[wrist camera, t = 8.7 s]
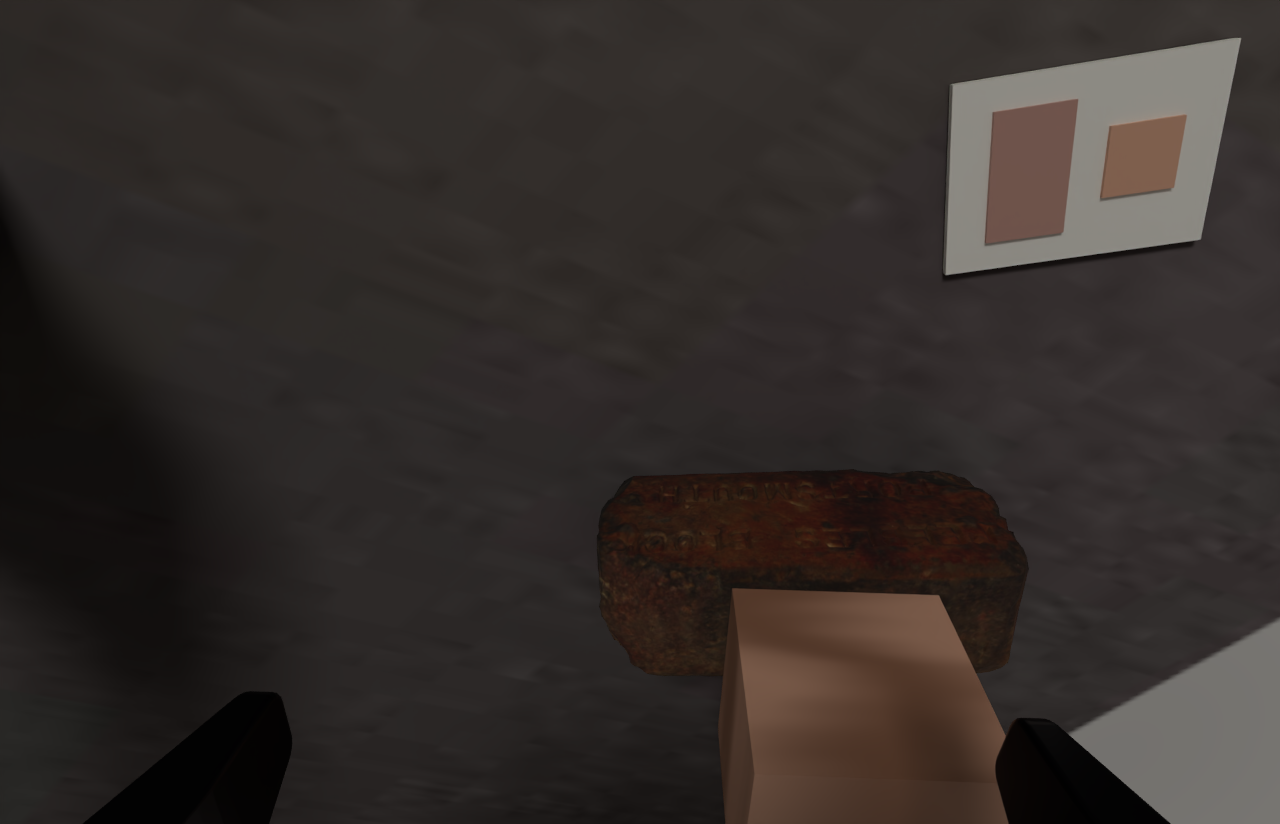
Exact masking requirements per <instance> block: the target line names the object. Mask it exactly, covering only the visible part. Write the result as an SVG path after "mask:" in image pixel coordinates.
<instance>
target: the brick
mask: <svg viewBox="0 0 1280 824" xmlns="http://www.w3.org/2000/svg"><path fill="white" fill-rule="evenodd" d="M597 556H598V571H599V585H600V594H601V601H600V606H599V607H600V609H601V615H602V617H603V618H604V620H605V621H606V623H607V626H608V628H609V630H610V632H611V634H612V636H613V638H614V640H617V641H619V643H620V645H622V646H623V647H624V648H625V650H626V651H627V653H628V655H629V658H630V662H631V663H632V664H633V665H634V666H637V667H639V668H641V669H642V670H643V671H644V672H646V673H647V674H653V675H663V676H688V675H701V676H723V674H724V664H725V655H726V645H727V635H728V625H729V615H730V606H731V596H732V588H738V589H768V590H797V591H827V592H857V593H887V594H916V595H939V597H940V599H941V601H942V603H943V605H944V607H945V609H946V611H947V614H948V616H949V618H950V620H951V622H952V624H953V626H954V628H955V630H956V633H957V635H958V637H959V639H960V641H961V643H962V645H963V647H964V649H965V651H966V654H967V656H968V658H969V660H970V662H971V664H972V666H973V668H974V670H975V673H983V672H989V671H993V670H996V669H999V668H1001V667H1003V666H1004V665H1005V664H1006V663H1008V660H1009V656H1010V649H1011V644H1012V639H1013V635H1014V630H1015V625H1016V620H1017V615H1018V610H1019V606H1020V602H1021V598H1022V594H1023V590H1024V585H1025V581H1026V577H1027V573H1028V569H1029V568H1028V562H1027V557H1026V554H1025V552H1024V550H1023V548H1022V547H1021V546H1020V544H1019V543H1018V542H1017V540H1016V538H1015V536H1014V533H1013V532H1011V531H1008V527H1007V522H1006V519H1005V518H1003V517H1001V516H1000V515H999V508H998V506H997V504H996V502H995V500H994V499H993V498H992V496H991V495H989V494H988V493H986V492H985V491H983V490H982V489H979V488H975V487H974V486H973V485H972V484H971V483H970V482H969V481H968V480H966V479H965V478H962V477H960V478H959V477H957V476H955V475H953V474H949V473H944V472H940V471H930V472H924V471H915V472H913V471H912V472H906V473H892V474H888V473H880V472H863V471H857V470H854V469H850V470H837V471H805V472H802V471H785V472H762V473H730V474H687V475H666V476H633V477H631V478H629V479H627V480H626V481H624V482H623V484H622V485H621V486H620V488H619V489H618V491H617V492H616V494H615V496H614V498H612V499H610V500H609V501H608V502H607V503H606V504H605V506H604V507H603V509H602V511H601V515H600V520H599V534H598V535H597Z"/></svg>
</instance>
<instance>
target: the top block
mask: <svg viewBox="0 0 1280 824" xmlns="http://www.w3.org/2000/svg"><path fill="white" fill-rule="evenodd" d="M718 733H719V746H720V759H721V772H722V785H723V798H724V811H725V824H1008V820H1007V817H1006V813H1005V809H1004V806H1003V802H1002V799H1001V795H1000V791H999V788H998V784H997V780H996V775H995V763H996V758H997V756H998V753H999V751H1000V749H1001V746H1002V744H1003V742H1004V739H1005V737H1006V736H1005V734H1004V731H1003V729H1002V727H1001V725H1000V723H999V721H998V719H997V717H996V715H995V712H994V710H993V708H992V706H991V704H990V702H989V700H988V698H987V696H986V694H985V691H984V689H983V687H982V685H981V683H980V681H979V679H978V677H977V675H976V673H975V670H974V668H973V666H972V664H971V662H970V660H969V658H968V656H967V654H966V651H965V649H964V647H963V645H962V643H961V641H960V639H959V637H958V635H957V633H956V630H955V628H954V626H953V624H952V622H951V620H950V618H949V616H948V614H947V611H946V609H945V607H944V605H943V603H942V601H941V599H940V597H939V595H916V594H887V593H857V592H827V591H797V590H768V589H738V588H732V596H731V606H730V615H729V625H728V635H727V645H726V655H725V664H724V674H723V684H722V694H721V704H720V713H719V723H718Z"/></svg>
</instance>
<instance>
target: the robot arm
mask: <svg viewBox="0 0 1280 824" xmlns="http://www.w3.org/2000/svg"><path fill="white" fill-rule="evenodd" d="M291 750H292V735H291V731H290V727H289V723H288V720H287V716H286V712H285V709H284V705H283V701H282V699H281V697H280V696H279V695H278V694H277V693H274V692H254V691H250V692H244V693H242V694H240V695H238V696H237V697H235V698H234V699H233V700H232V701H231V702H229V703H228V704H227V705H226V706H225V707H223V708H222V709H221V710H220V711H218V712H217V713H216V714H215V715H214V716H212V717H211V718H210V719H209V720H208V721H206V722H205V723H204V724H203V725H202V726H200V727H199V728H198V729H197V730H195V731H194V732H193V733H192V734H191V735H189V736H188V737H187V738H186V739H185V740H183V741H182V742H181V743H180V744H179V745H177V746H176V747H175V748H174V749H172V750H171V751H170V752H169V753H168V754H166V755H165V756H164V757H163V758H162V759H160V760H159V761H158V762H157V763H156V764H154V765H153V766H152V767H151V768H149V769H148V770H147V771H146V772H145V773H143V774H142V775H141V776H140V777H139V778H137V779H136V780H135V781H134V782H133V783H131V784H130V785H129V786H128V787H126V788H125V789H124V790H123V791H122V792H120V793H119V794H118V795H117V796H116V797H114V798H113V799H112V800H111V801H110V802H108V803H107V804H106V805H105V806H103V807H102V808H101V809H100V810H99V811H97V812H96V813H95V814H94V815H93V816H91V817H90V818H89V819H88V820H87V821H85V822H84V823H83V824H269V822H270V819H271V816H272V813H273V809H274V806H275V803H276V800H277V797H278V794H279V790H280V787H281V784H282V781H283V778H284V775H285V771H286V768H287V765H288V762H289V759H290V755H291ZM995 775H996V780H997V784H998V788H999V791H1000V795H1001V799H1002V802H1003V806H1004V809H1005V813H1006V817H1007V820H1008V824H1170V823H1169V822H1168V821H1167V820H1166V819H1165V818H1163V817H1162V816H1161V815H1160V814H1159V813H1158V812H1157V811H1155V810H1154V809H1153V808H1152V807H1151V806H1149V804H1147V803H1146V802H1145V801H1144V800H1143V799H1142V798H1141V797H1139V796H1138V795H1137V794H1136V793H1135V792H1134V791H1132V790H1131V789H1130V788H1129V787H1128V786H1127V785H1126V784H1124V783H1123V782H1122V781H1121V780H1120V779H1119V778H1117V777H1116V776H1115V775H1114V774H1113V773H1112V772H1111V771H1110V770H1108V769H1107V768H1106V767H1105V766H1104V765H1103V764H1101V763H1100V762H1099V761H1098V760H1097V759H1096V758H1095V757H1093V756H1092V755H1091V754H1090V753H1089V752H1088V751H1086V750H1085V749H1084V748H1083V747H1082V746H1081V745H1080V744H1079V743H1077V742H1076V741H1075V740H1074V739H1073V738H1072V737H1071V736H1069V735H1068V734H1067V733H1066V732H1065V731H1064V730H1063V729H1061V728H1060V727H1059V726H1058V725H1057V724H1055V723H1054V722H1052V721H1050V720H1047V719H1041V718H1017V719H1016V720H1014V721H1013V722H1012V723H1011V725H1010V727H1009V730H1008V732H1007V734H1006V737H1005V739H1004V742H1003V744H1002V746H1001V749H1000V751H999V753H998V756H997V758H996V763H995Z"/></svg>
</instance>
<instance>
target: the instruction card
mask: <svg viewBox="0 0 1280 824" xmlns="http://www.w3.org/2000/svg"><path fill="white" fill-rule="evenodd" d="M1240 41H1241V38H1231V39H1225V40H1219V41H1213V42H1207V43H1200V44H1194V45H1188V46H1182V47H1176V48H1170V49H1164V50H1158V51H1151V52H1145V53H1139V54H1133V55H1127V56H1121V57H1115V58H1109V59H1103V60H1096V61H1090V62H1084V63H1078V64H1072V65H1066V66H1060V67H1054V68H1047V69H1041V70H1035V71H1029V72H1023V73H1017V74H1011V75H1005V76H998V77H992V78H986V79H980V80H974V81H968V82H962V83H956V84H950V92H949V119H948V146H947V173H946V201H945V228H944V255H943V273H944V274H945V275H950V274H958V273H965V272H972V271H979V270H986V269H993V268H1001V267H1008V266H1015V265H1022V264H1029V263H1036V262H1044V261H1051V260H1058V259H1065V258H1072V257H1079V256H1087V255H1094V254H1101V253H1108V252H1115V251H1123V250H1130V249H1137V248H1144V247H1151V246H1158V245H1166V244H1173V243H1180V242H1187V241H1194V240H1200V239H1201V234H1202V229H1203V224H1204V219H1205V214H1206V209H1207V205H1208V200H1209V195H1210V190H1211V185H1212V180H1213V175H1214V170H1215V165H1216V160H1217V155H1218V150H1219V145H1220V140H1221V135H1222V130H1223V125H1224V120H1225V115H1226V110H1227V105H1228V100H1229V95H1230V90H1231V85H1232V80H1233V76H1234V71H1235V66H1236V61H1237V56H1238V51H1239V46H1240Z"/></svg>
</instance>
